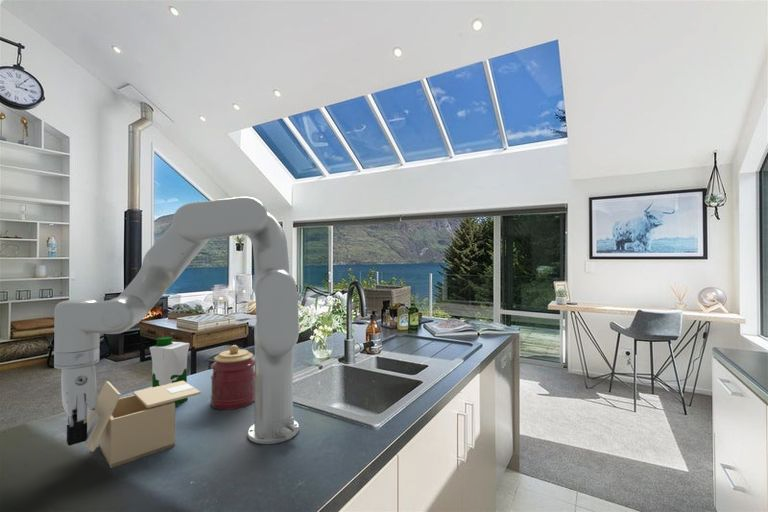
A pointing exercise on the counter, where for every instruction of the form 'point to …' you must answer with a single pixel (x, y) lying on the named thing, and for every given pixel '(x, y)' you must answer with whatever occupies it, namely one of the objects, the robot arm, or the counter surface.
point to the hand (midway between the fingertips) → (77, 441)
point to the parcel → (137, 431)
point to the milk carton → (169, 363)
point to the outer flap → (101, 414)
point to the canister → (233, 379)
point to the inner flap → (166, 393)
